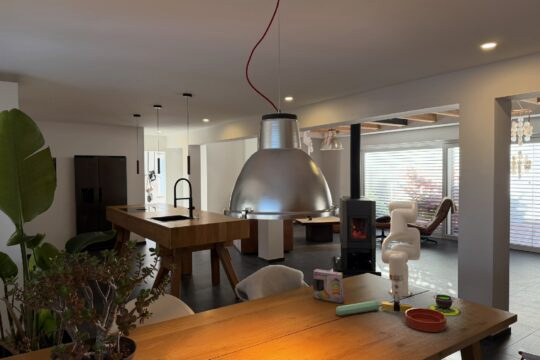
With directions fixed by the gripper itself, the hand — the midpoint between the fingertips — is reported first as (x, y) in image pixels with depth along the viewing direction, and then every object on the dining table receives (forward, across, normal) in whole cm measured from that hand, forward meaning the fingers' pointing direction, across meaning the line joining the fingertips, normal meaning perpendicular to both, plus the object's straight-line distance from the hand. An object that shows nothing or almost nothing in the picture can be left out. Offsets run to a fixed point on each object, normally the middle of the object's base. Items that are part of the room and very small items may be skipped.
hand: (396, 309), depth 206 cm
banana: (+1, +1, 0) cm, 1 cm away
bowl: (+2, -12, -14) cm, 18 cm away
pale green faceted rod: (+2, -6, +21) cm, 22 cm away
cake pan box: (+3, +10, +40) cm, 41 cm away
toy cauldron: (+3, +12, -25) cm, 28 cm away
